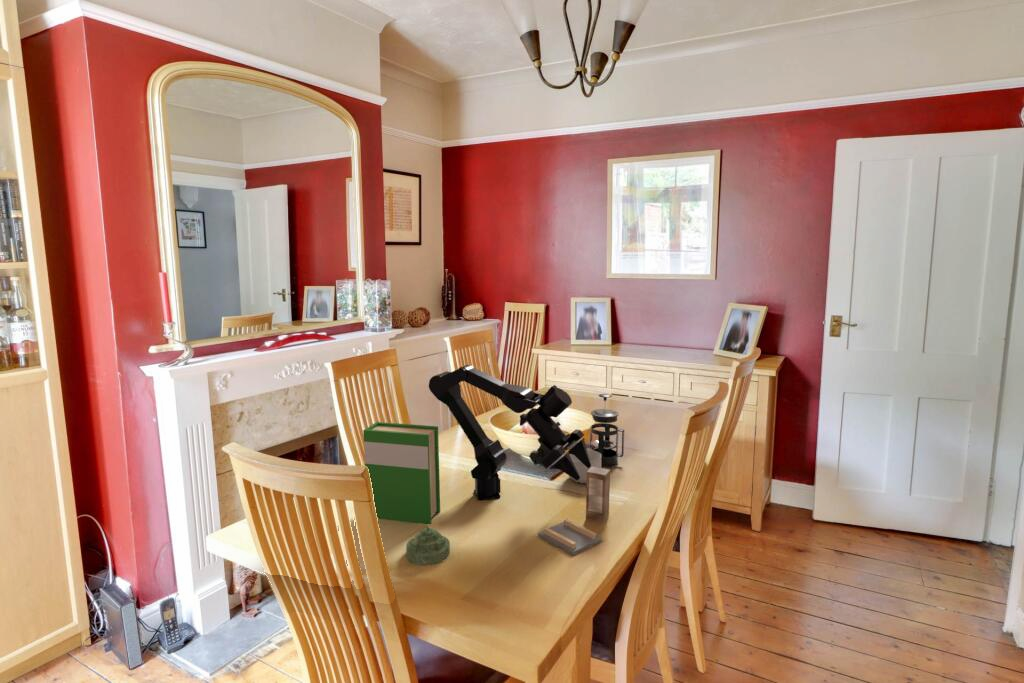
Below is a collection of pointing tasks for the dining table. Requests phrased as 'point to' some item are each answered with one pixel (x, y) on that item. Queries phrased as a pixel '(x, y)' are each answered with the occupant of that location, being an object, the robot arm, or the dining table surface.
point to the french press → (606, 435)
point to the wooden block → (597, 494)
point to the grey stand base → (570, 537)
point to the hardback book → (403, 470)
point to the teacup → (581, 468)
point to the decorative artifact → (427, 548)
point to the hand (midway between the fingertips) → (584, 473)
